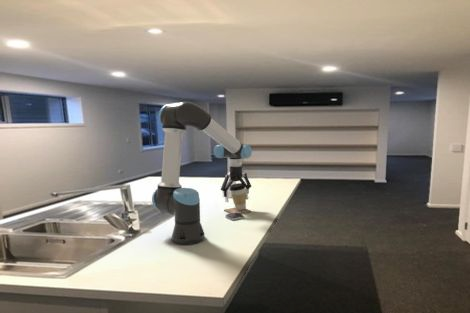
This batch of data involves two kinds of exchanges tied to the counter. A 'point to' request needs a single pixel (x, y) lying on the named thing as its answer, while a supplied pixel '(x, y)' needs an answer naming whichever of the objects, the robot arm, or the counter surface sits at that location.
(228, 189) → the white tiered cone
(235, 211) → the board
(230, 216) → the ink pad
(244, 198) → the coffee cup
